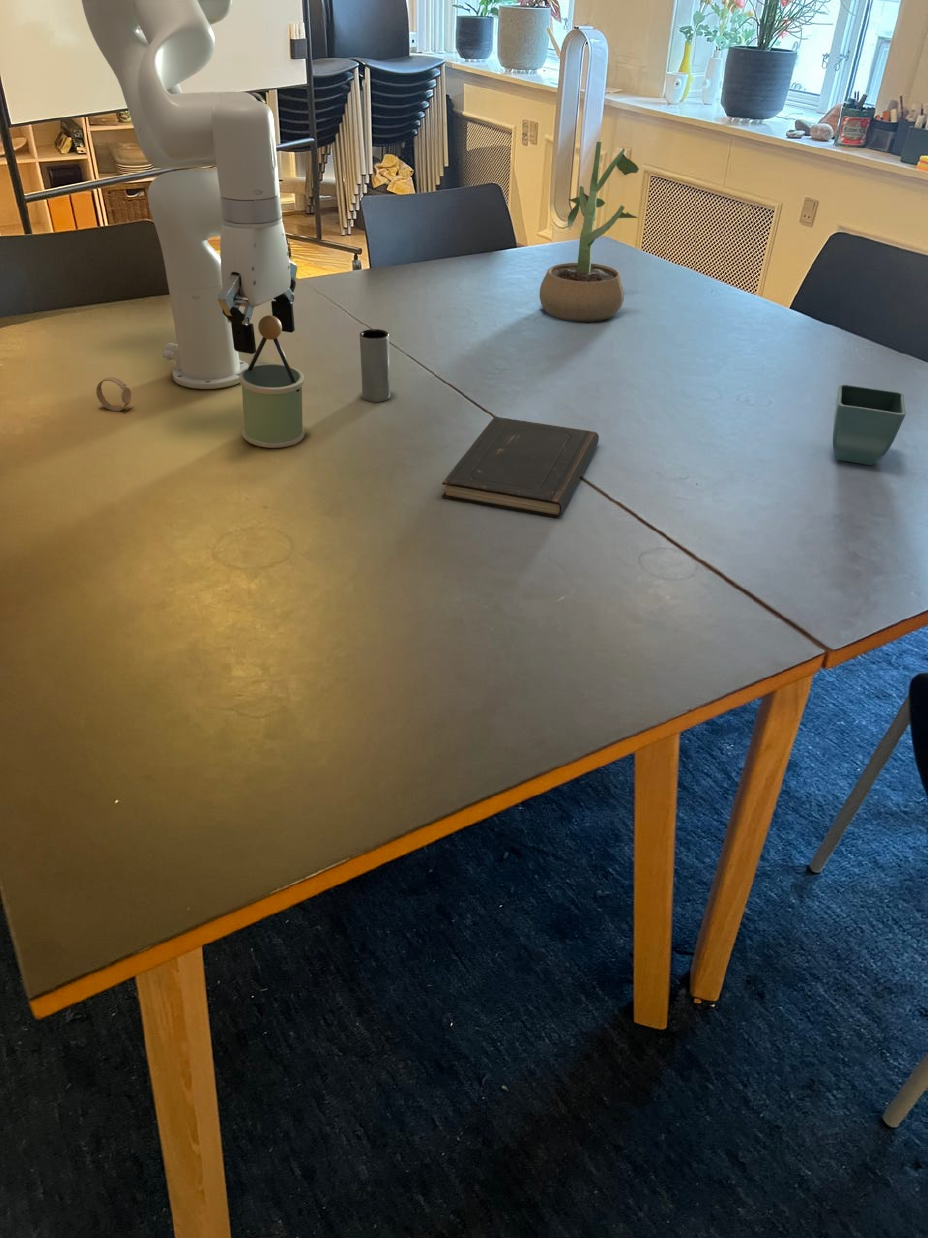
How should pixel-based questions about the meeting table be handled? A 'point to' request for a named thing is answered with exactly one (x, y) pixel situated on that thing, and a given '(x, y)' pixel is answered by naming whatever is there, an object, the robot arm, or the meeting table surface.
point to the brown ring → (124, 394)
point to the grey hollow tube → (375, 365)
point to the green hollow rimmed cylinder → (272, 396)
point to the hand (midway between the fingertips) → (265, 340)
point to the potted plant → (587, 260)
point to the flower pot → (866, 423)
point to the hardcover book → (522, 466)
